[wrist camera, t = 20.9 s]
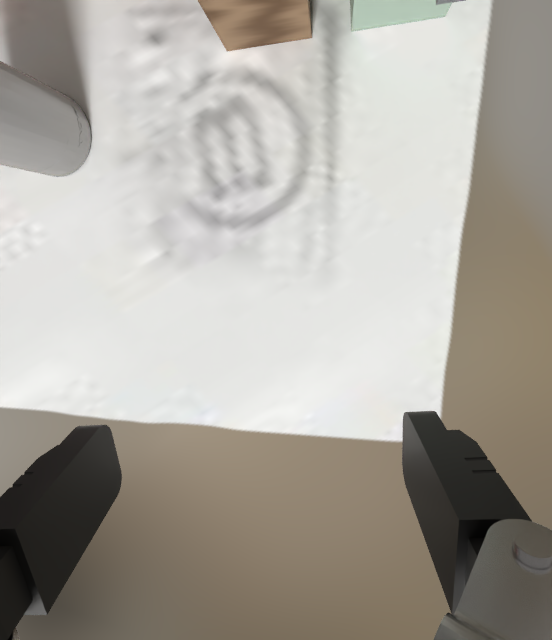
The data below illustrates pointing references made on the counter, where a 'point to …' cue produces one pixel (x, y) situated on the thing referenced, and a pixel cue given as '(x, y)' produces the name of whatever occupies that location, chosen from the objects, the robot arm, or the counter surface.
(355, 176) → the counter surface
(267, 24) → the walnut post
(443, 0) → the bar
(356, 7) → the sage green box
